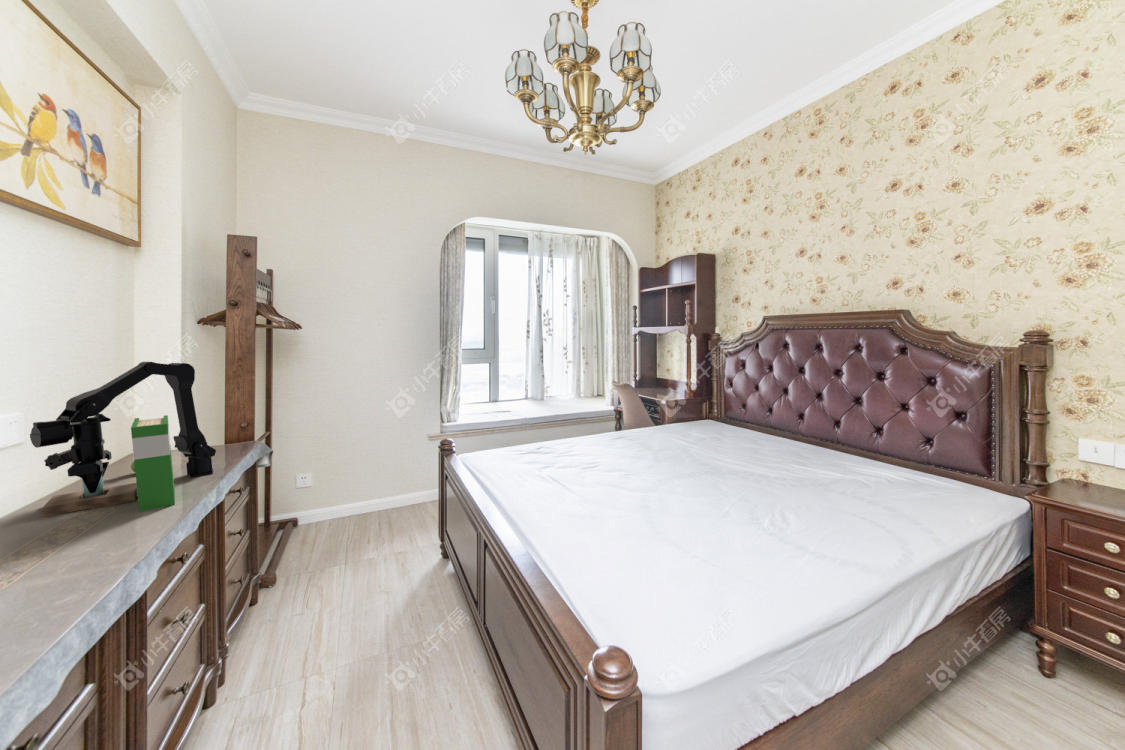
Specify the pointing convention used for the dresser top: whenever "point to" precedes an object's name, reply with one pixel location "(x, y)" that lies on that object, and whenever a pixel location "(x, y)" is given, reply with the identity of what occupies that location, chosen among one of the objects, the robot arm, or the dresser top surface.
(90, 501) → the rail
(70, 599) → the dresser top surface
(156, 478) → the hardback book
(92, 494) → the teal peg
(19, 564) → the dresser top surface
